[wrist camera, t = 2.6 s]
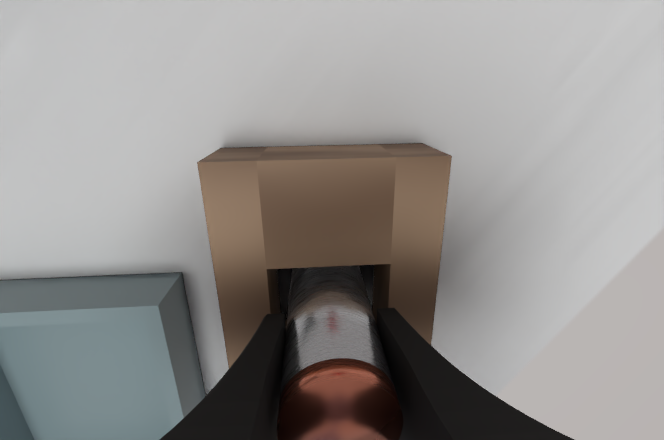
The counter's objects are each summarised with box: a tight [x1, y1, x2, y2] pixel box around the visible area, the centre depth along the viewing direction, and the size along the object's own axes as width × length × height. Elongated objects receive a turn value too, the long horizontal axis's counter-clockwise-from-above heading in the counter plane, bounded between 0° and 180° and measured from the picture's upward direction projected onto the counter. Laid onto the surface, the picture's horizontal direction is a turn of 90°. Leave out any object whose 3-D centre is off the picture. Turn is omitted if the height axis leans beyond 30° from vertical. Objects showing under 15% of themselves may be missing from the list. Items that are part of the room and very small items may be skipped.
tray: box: [0, 273, 205, 440], centre depth 15 cm, size 11×9×2 cm
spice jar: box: [277, 265, 403, 440], centre depth 12 cm, size 3×3×8 cm
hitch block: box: [197, 143, 452, 368], centre depth 14 cm, size 12×8×3 cm, turn 1°
